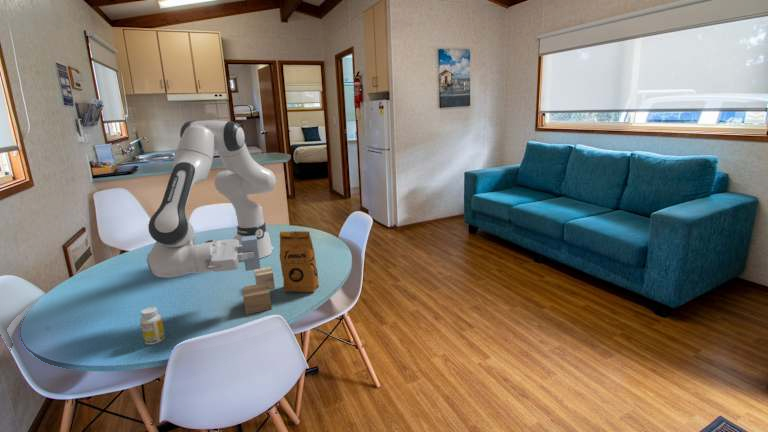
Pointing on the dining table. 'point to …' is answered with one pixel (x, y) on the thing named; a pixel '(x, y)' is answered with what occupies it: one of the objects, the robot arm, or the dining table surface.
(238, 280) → the dining table surface
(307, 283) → the coffee package
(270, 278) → the birch block
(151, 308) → the supplement bottle
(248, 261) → the slate block
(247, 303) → the walnut block
